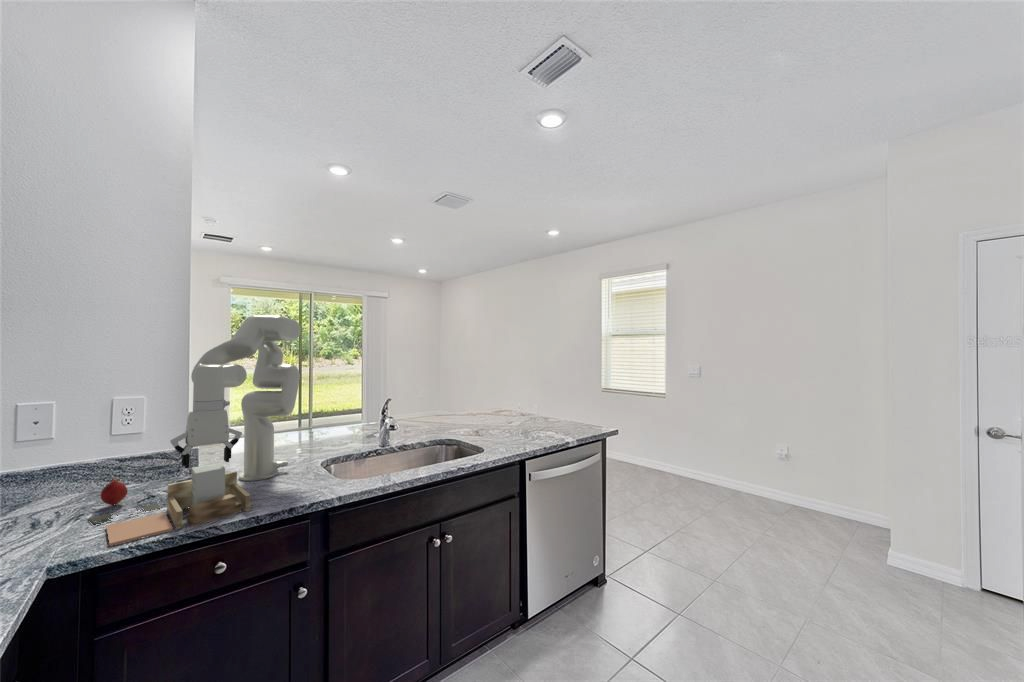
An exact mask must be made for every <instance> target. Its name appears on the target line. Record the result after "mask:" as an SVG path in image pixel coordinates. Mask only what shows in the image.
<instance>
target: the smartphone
mask: <svg viewBox="0 0 1024 682" xmlns="http://www.w3.org/2000/svg"><path fill="white" fill-rule="evenodd" d="M149 503H150V505H149V506H147V505H145V504H143V505H144V506H145V507H143V509H144V510H143V509H141V510H142V511H143V512H144V511H145V512H146V511H151V510H155V509H159V510H161V509H160V508H162V509H163V506H161V505H160V504H158V503H157V502H149ZM151 503H152V504H151ZM136 509H137V508H136ZM141 510H140V511H141ZM137 511H138V509H137ZM137 514H138V513H137ZM112 515H113V514H112ZM112 515H111V514H109V512H108V513H105V514H101V515H96V516H93V517H90V518H88V519H87V521H88V520H89V521H90V522H91V523H92V524H93V525H96V524H101V523H104V522H107V521H111V520H109V519H113V518H111V516H112ZM130 515H133V514H130ZM130 515H129V516H130ZM117 516H118V515H117ZM108 518H109V519H108Z"/></svg>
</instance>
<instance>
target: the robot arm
mask: <svg viewBox="0 0 1024 682" xmlns="http://www.w3.org/2000/svg"><path fill="white" fill-rule="evenodd" d="M300 335H301V325H300V324H299V322H298V321H297V320H296V319H292V318H291V317H290V318H289V317H286V316H282V315H274V314H272V315H270V314H269V315H265V314H264V315H262V314H258V315H257V314H254V315H250V316H248V317H246V318H245V319H244V320H243V322H242V324H240V326H239V328H238V329H237V330H236V331H235V333H234V335H233V336H231V337H232V338H231V339H230V340H227V341H225V342H223V343H221V344H219V345H217V346H214V347H212V348H211V349H209V350H208V351H206V352H204V354H202V356H201V357H200V358H199V360H197V362H196V364H195V365H194V366H193V369H192V371H191V377H190V378H191V381H192V383H193V385H192V386H193V389H192V390H193V391H192V393H193V394H192V411H189V412H188V415H187V420H186V426H185V432H184V433H182V434H179V435H178V436H175V437H174V438H172V439H171V440H170V441H169V443H170V444H171V445H172V447H173V448H174V449H175V451H177V452H179V453H180V454H181V466H184V468H185V469H190V456H191V455H190V454H189V452H190V451H191V450H192V449H193V448H195V447H196V448H198V447H203V446H204V447H205V446H206V447H207V446H213V445H219V444H223V446H225V447H224V448H223V461H224V462H226V463H229V462H230V459H232V449H233V447H234V446H235V445H237V443H238V442H239V440H240V438H241V437H242V435H243V432H244V435H243V441H244V442H243V443H244V444H243V471H242V472H241V473H239V474H238V480H240V481H246V482H247V481H248V482H251V481H252V482H253V481H261V480H267V479H270V478H272V477H275V476H277V475H278V474H279V469H280V468H285V467H288V466H289V464H288V463H289V462H288V461H287V460H286V461H282V460H281V461H275V460H274V459H275V458H274V457H275V455H274V454H275V450H274V449H275V426H274V424H273V422H272V420H271V419H270V418H269V417H287V416H289V415H291V414H292V413H293V411H294V409H295V405H296V402H297V395H298V391H299V387H300V380H301V379H300V378H301V375H300V370H299V368H298V367H297V366H296V365H293V364H290V363H289V364H283V359H284V353H283V351H282V349H281V347H279V346H278V344H277V343H276V342H282V341H283V342H294V341H296V340H297V339H298V338H299V337H300ZM257 352H258V354H257V359H256V363H255V366H254V367H255V368H254V371H253V376H252V385H253V386H254V387H255V388H257V389H261V390H254V391H250V392H249V391H248V392H247V393H246V394H244V395H243V396H242V398H241V404H240V405H241V411H242V418H243V426H244V427H243V428H244V429H243V430H244V431H243V432H242V431H240V430H236V429H233V428H230V427H229V416H228V411H227V409H225V408H226V407H229V406H230V405H231V403H230V402H231V401H230V400H225V388H237V387H240V386H242V385H243V384H244V383H245V381H246V380H247V374H248V373H247V371H246V369H245V367H244V366H242V365H240V364H237V363H231V362H235V361H239V360H243V359H244V360H245V359H247V358H249V357H252V356H254V355H255V354H256V353H257ZM262 389H263V390H262ZM230 434H232V435H234V437H233V438H232V439H231V440H230V441H229V439H230ZM184 439H185V444H186V445H184V446H183V447H182V446H181V445H180V444H179V442H181V441H182V440H183V441H184Z"/></svg>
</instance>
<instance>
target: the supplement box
mask: <svg viewBox="0 0 1024 682" xmlns="http://www.w3.org/2000/svg"><path fill="white" fill-rule="evenodd" d="M225 473H226V467H225V466H224V465H223V464H222V463H220V462H217V463H212V464H207V465H201V466H195V467H191V480H192V495H191V505H194V504H198V503H201V502H205V501H208V500H211V499H215V498H218V497H222V496H225Z"/></svg>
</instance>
